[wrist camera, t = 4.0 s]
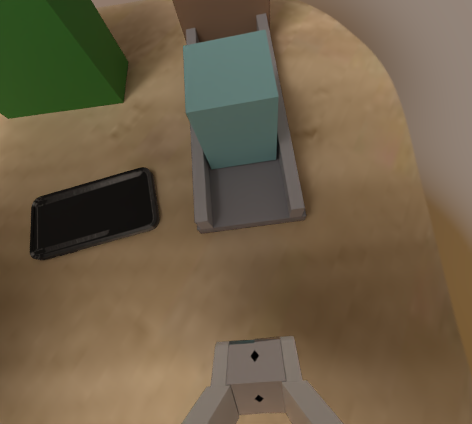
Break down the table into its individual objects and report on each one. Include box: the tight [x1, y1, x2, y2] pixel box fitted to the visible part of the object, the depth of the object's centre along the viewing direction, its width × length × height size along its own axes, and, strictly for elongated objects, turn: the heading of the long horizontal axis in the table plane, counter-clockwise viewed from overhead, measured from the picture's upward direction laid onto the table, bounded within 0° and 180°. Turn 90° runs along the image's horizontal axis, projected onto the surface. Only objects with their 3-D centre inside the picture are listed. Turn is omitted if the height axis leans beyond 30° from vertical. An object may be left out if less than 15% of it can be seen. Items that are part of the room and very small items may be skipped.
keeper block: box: [183, 30, 279, 169], centre depth 24 cm, size 7×7×9 cm
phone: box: [30, 167, 159, 260], centre depth 30 cm, size 8×1×15 cm
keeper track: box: [173, 0, 306, 233], centre depth 26 cm, size 11×30×12 cm, turn 6°
